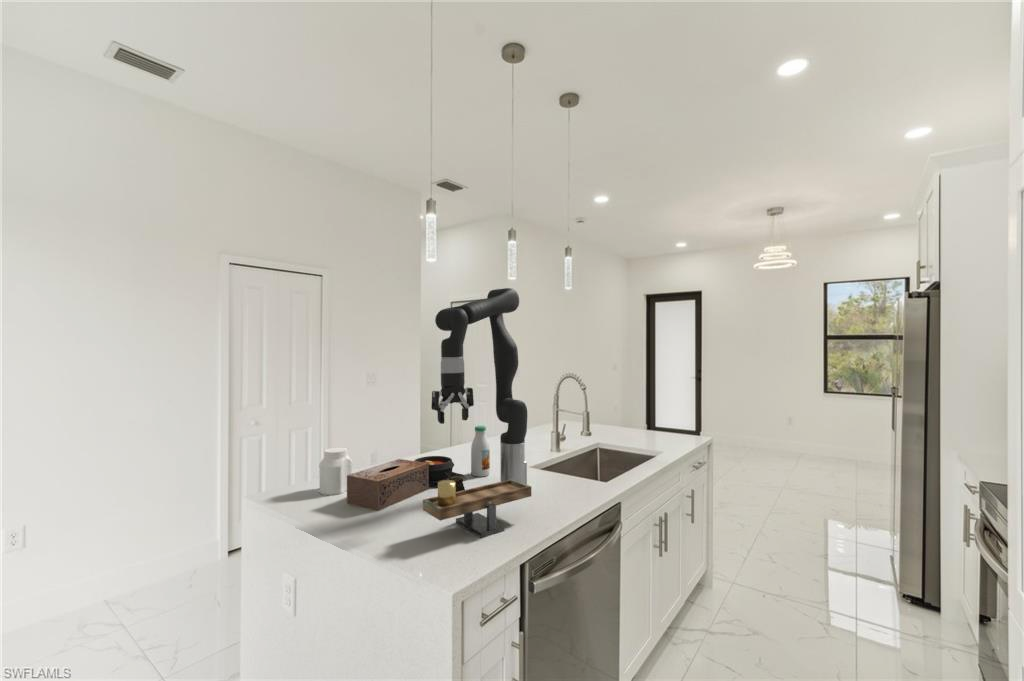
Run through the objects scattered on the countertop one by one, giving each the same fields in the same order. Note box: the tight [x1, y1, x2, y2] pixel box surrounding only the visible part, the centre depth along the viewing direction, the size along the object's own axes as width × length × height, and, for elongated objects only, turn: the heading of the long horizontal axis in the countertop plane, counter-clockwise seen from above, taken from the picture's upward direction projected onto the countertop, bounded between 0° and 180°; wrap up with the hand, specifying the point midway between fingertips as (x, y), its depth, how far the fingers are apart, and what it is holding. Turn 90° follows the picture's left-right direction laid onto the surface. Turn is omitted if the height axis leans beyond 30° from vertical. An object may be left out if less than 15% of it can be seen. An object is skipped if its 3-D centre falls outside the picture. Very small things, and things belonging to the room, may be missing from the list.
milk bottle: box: [470, 425, 491, 478], centre depth 194 cm, size 8×8×20 cm
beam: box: [422, 479, 532, 522], centre depth 138 cm, size 32×10×3 cm, turn 128°
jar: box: [318, 447, 353, 496], centre depth 173 cm, size 12×10×15 cm
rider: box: [437, 480, 456, 507], centre depth 132 cm, size 5×5×6 cm
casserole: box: [413, 455, 465, 486], centre depth 185 cm, size 25×19×8 cm
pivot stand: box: [455, 504, 505, 538], centre depth 138 cm, size 8×14×8 cm, turn 38°
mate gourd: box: [445, 472, 466, 492], centre depth 161 cm, size 7×8×10 cm
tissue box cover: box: [346, 458, 430, 512], centre depth 166 cm, size 26×14×10 cm, turn 151°
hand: (453, 421), depth 149 cm, fingers open, 8 cm apart
